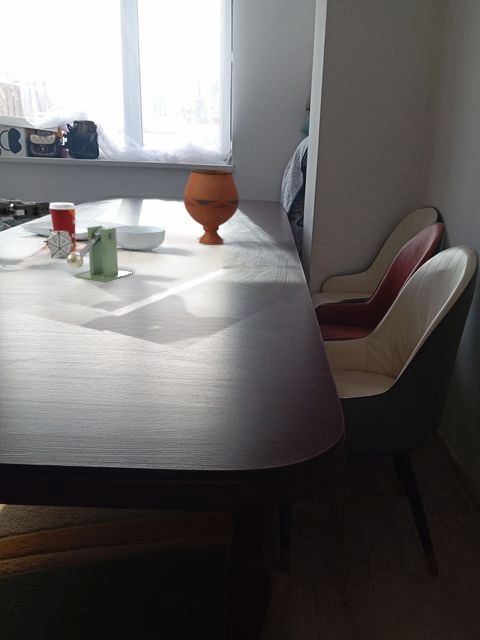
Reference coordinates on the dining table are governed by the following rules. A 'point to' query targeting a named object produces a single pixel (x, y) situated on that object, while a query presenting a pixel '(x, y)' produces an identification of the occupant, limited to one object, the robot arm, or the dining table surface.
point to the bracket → (103, 257)
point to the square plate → (80, 227)
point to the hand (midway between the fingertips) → (31, 205)
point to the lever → (83, 251)
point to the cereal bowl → (139, 237)
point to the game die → (59, 243)
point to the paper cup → (64, 218)
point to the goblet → (211, 201)
